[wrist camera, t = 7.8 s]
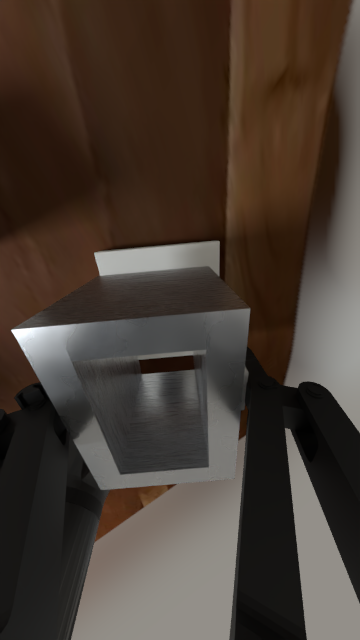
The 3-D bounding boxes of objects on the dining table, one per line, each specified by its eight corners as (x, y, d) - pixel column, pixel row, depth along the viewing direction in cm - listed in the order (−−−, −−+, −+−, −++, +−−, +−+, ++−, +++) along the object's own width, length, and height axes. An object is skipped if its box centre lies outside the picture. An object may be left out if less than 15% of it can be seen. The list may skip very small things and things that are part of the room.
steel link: (210, 380, 18) (234, 478, 11) (129, 387, 18) (100, 490, 11) (208, 265, 13) (250, 308, 6) (98, 275, 13) (11, 329, 6)
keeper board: (215, 345, 25) (230, 386, 18) (126, 353, 25) (110, 396, 18) (216, 240, 19) (238, 246, 13) (99, 251, 19) (63, 262, 13)
